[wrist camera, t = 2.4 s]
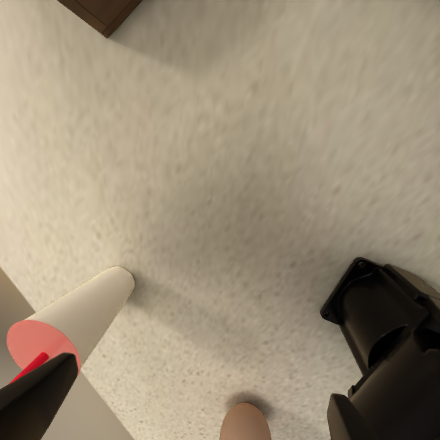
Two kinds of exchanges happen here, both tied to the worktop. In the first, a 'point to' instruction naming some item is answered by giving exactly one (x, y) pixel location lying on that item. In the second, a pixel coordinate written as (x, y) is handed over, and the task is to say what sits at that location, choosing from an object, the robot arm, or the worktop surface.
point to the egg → (244, 424)
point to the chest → (101, 12)
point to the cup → (71, 321)
